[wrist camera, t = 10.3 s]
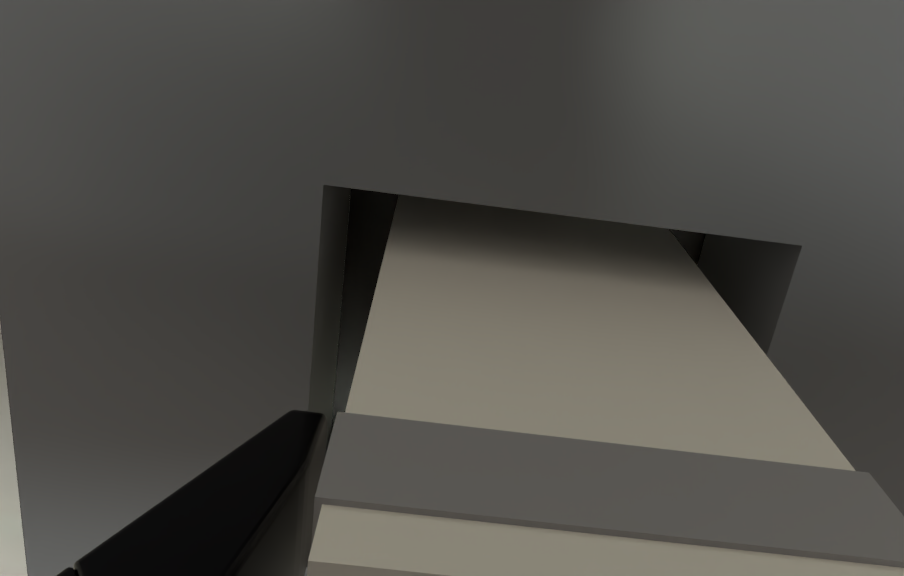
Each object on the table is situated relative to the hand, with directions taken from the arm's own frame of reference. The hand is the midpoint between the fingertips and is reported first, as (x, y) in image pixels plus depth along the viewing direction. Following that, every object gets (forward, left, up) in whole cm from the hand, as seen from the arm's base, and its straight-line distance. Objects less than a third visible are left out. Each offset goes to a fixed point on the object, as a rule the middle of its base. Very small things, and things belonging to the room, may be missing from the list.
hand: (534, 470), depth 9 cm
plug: (0, 0, -4) cm, 4 cm away
